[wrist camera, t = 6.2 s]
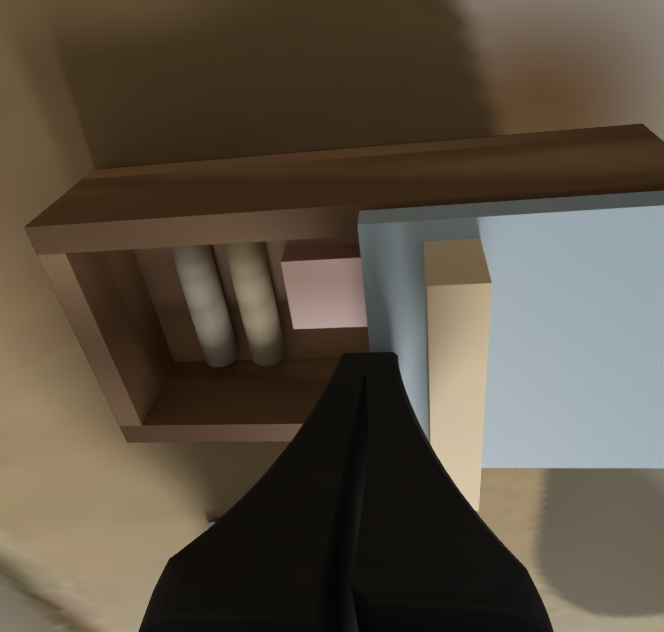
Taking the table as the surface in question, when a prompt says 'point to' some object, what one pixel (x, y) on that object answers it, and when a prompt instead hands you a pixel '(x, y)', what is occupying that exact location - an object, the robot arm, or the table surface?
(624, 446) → the lid
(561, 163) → the pencil box
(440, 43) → the table surface
